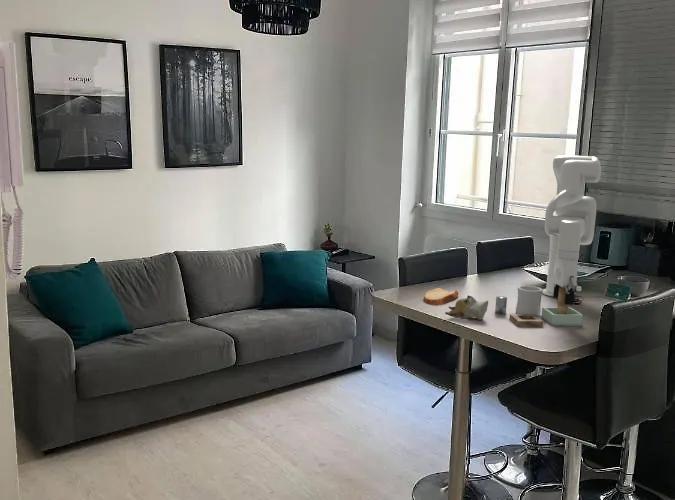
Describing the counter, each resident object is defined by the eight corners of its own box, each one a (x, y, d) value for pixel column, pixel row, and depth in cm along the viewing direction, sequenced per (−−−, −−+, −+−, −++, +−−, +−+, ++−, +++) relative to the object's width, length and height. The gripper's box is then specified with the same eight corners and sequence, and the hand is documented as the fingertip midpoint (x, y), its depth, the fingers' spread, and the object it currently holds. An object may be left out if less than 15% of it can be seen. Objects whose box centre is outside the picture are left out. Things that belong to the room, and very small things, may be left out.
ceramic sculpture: (487, 299, 232) (444, 297, 237) (486, 323, 234) (444, 321, 238) (489, 293, 242) (448, 291, 247) (489, 316, 244) (448, 314, 248)
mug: (543, 317, 244) (545, 291, 242) (518, 316, 244) (520, 290, 242) (534, 309, 256) (536, 284, 254) (511, 308, 256) (513, 283, 255)
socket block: (533, 319, 241) (533, 314, 241) (542, 326, 232) (543, 321, 232) (509, 319, 240) (509, 314, 240) (518, 326, 232) (518, 321, 231)
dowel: (564, 318, 242) (567, 286, 239) (568, 321, 238) (571, 289, 236) (554, 318, 241) (557, 286, 239) (558, 321, 238) (561, 289, 236)
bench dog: (503, 311, 251) (505, 296, 250) (507, 314, 247) (508, 298, 246) (493, 311, 251) (494, 296, 249) (496, 314, 247) (498, 298, 246)
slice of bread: (430, 306, 256) (430, 297, 255) (412, 295, 273) (413, 286, 272) (472, 304, 261) (472, 295, 260) (452, 293, 278) (452, 284, 277)
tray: (569, 317, 245) (570, 307, 244) (581, 325, 235) (583, 315, 235) (541, 317, 244) (542, 307, 243) (552, 325, 234) (553, 314, 234)
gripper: (548, 249, 244) (543, 294, 247) (567, 259, 227) (563, 307, 230) (567, 249, 244) (563, 294, 248) (588, 259, 227) (583, 307, 231)
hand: (563, 300), depth 239 cm, fingers open, 9 cm apart
